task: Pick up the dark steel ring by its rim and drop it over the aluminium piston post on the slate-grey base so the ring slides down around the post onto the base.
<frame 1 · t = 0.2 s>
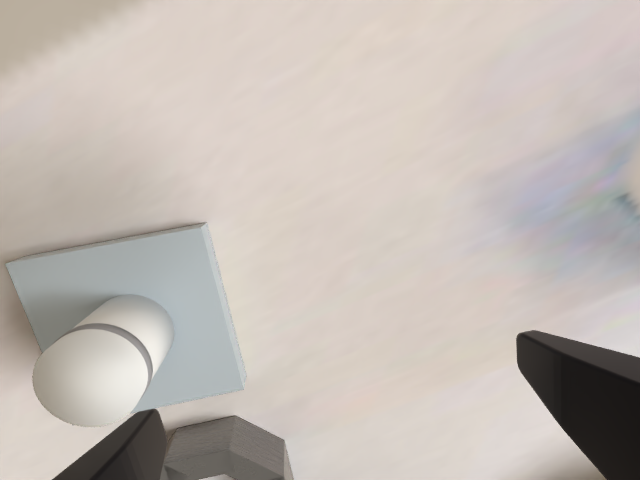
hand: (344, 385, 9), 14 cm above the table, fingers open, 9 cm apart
piston base: (143, 320, 23), on the table
steel ring: (223, 477, 26), on the table
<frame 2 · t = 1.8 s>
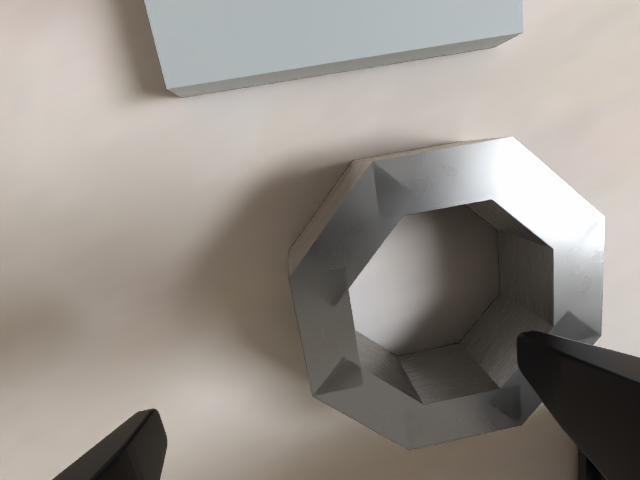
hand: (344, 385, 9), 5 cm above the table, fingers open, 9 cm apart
steel ring: (420, 277, 14), on the table
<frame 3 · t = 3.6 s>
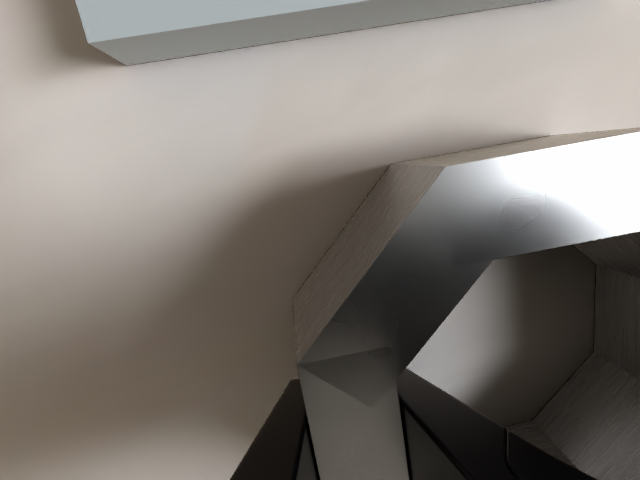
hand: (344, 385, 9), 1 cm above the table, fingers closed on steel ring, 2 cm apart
steel ring: (483, 332, 10), on the table, touching gripper
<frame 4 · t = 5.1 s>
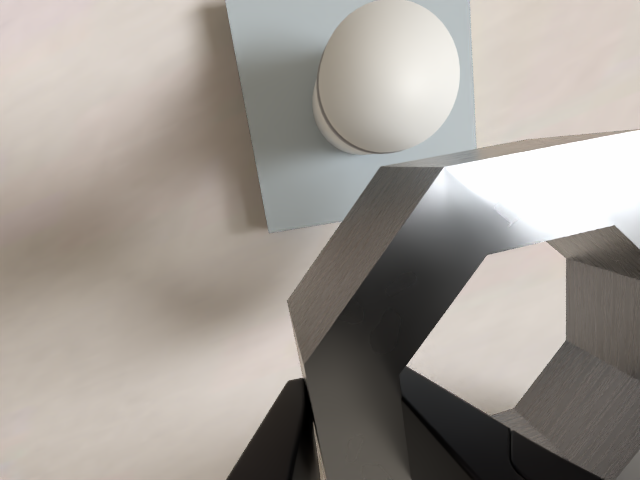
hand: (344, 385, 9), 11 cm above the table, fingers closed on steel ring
piston base: (356, 108, 18), on the table
steel ring: (468, 326, 10), point 10 cm above the table, tilted 6°, touching gripper
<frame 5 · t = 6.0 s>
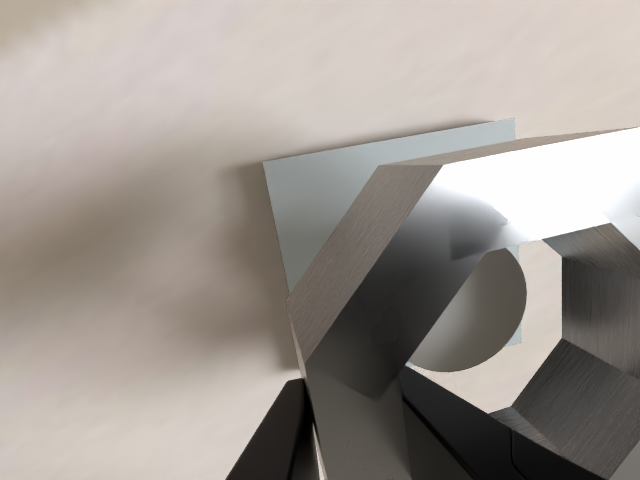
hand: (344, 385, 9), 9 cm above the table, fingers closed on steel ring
piston base: (395, 252, 18), on the table
steel ring: (466, 324, 10), point 8 cm above the table, tilted 6°, touching gripper
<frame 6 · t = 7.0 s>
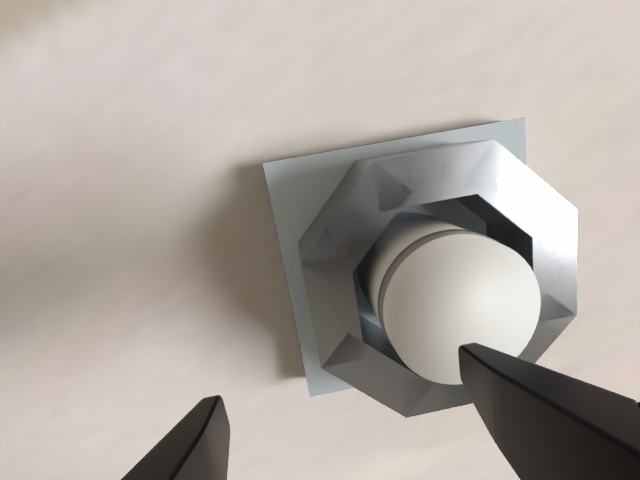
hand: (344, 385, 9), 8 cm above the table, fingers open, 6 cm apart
piston base: (399, 257, 17), on the table
steel ring: (416, 265, 16), point 1 cm above the table, touching piston base
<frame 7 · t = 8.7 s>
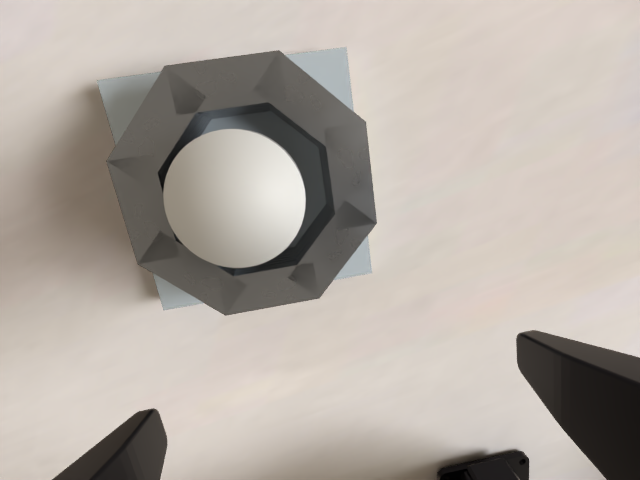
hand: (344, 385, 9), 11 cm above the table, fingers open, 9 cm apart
piston base: (251, 184, 18), on the table
steel ring: (255, 186, 17), point 1 cm above the table, touching piston base
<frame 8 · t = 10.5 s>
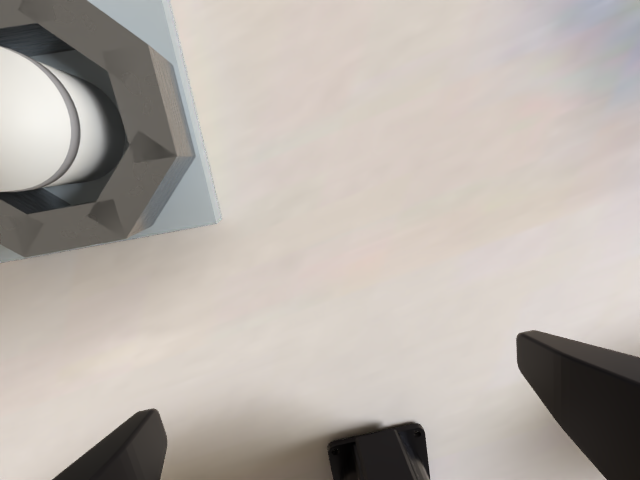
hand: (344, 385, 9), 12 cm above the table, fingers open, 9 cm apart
piston base: (88, 133, 18), on the table
steel ring: (77, 130, 16), point 1 cm above the table, touching piston base
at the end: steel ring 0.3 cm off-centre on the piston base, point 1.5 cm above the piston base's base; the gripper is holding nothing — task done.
